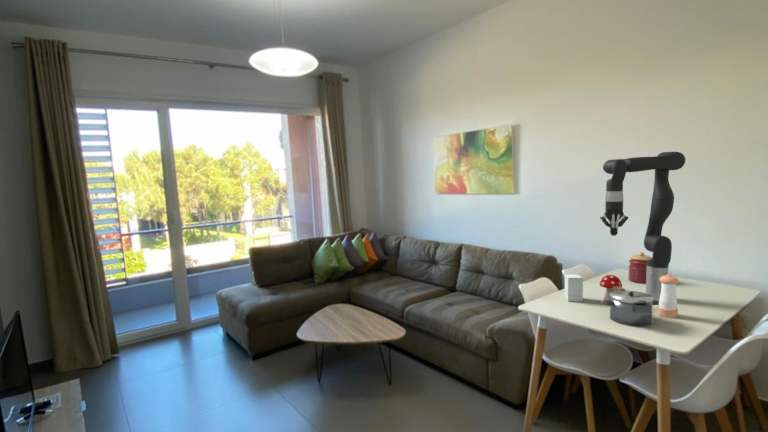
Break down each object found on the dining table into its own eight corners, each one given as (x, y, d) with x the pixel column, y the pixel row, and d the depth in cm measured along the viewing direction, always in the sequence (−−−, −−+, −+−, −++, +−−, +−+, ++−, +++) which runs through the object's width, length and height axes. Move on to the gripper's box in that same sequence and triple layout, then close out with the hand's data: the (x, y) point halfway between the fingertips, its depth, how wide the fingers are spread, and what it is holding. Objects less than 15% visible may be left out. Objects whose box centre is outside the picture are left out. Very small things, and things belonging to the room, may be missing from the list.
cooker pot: (646, 313, 185) (646, 292, 184) (670, 328, 167) (671, 305, 166) (597, 313, 188) (597, 293, 187) (616, 328, 170) (616, 305, 169)
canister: (623, 279, 245) (623, 250, 243) (642, 277, 246) (643, 249, 244) (639, 284, 232) (639, 254, 230) (659, 283, 233) (660, 253, 232)
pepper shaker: (671, 319, 178) (672, 277, 176) (654, 314, 184) (655, 273, 183) (681, 316, 181) (682, 274, 179) (664, 311, 187) (665, 271, 185)
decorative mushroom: (600, 306, 198) (600, 276, 197) (598, 300, 206) (598, 272, 205) (623, 307, 195) (624, 277, 193) (620, 302, 203) (620, 273, 201)
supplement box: (583, 301, 206) (583, 277, 204) (567, 301, 207) (567, 277, 206) (579, 297, 213) (579, 274, 212) (564, 297, 214) (564, 274, 213)
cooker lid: (634, 289, 191) (634, 283, 191) (662, 304, 168) (662, 298, 168) (597, 289, 193) (597, 283, 192) (620, 304, 170) (621, 298, 170)
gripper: (624, 199, 198) (624, 233, 200) (596, 200, 200) (596, 234, 201) (632, 200, 191) (631, 236, 192) (603, 201, 192) (602, 236, 194)
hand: (613, 235), depth 197 cm, fingers closed
